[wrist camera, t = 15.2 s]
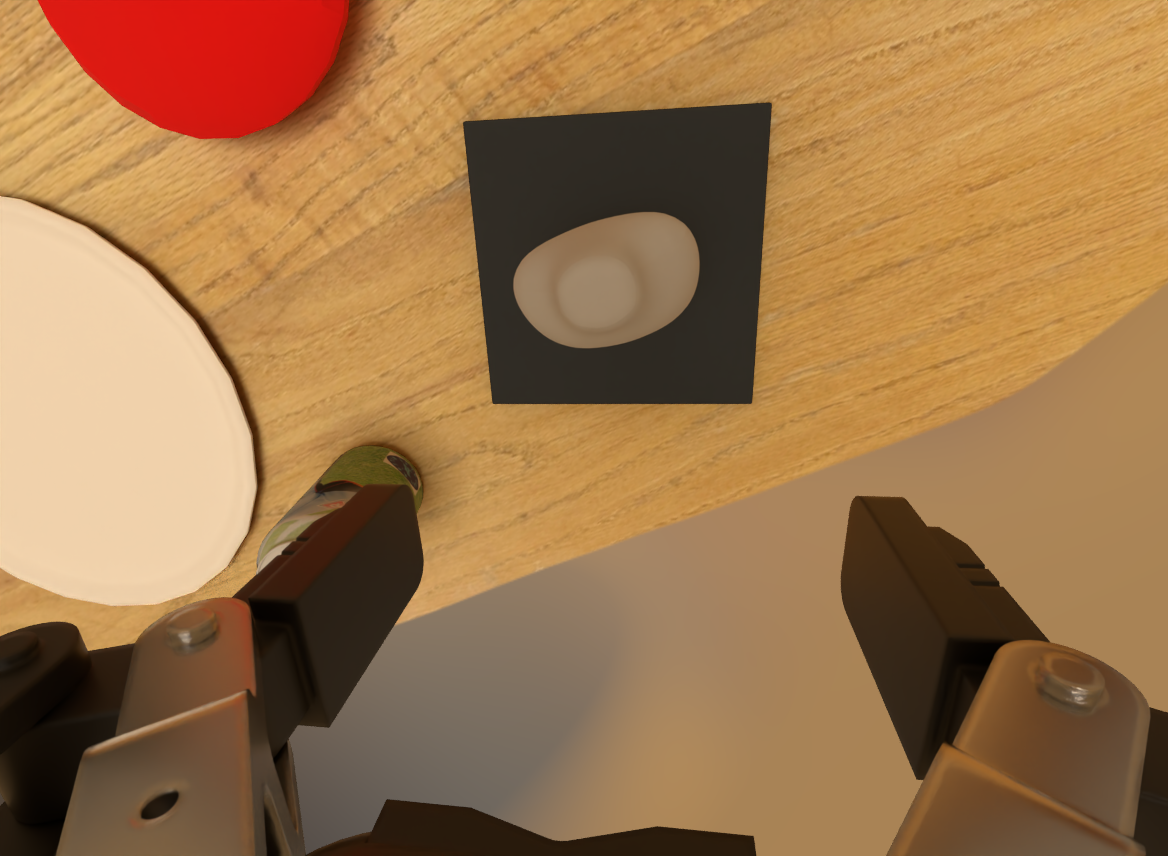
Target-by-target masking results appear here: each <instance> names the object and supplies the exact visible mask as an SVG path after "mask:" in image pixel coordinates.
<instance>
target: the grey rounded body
mask: <svg viewBox="0 0 1168 856" xmlns="http://www.w3.org/2000/svg"><path fill="white" fill-rule="evenodd" d="M699 266H700V261H699V252H698V247H697V244H696V241H695V238H694V236H693V235H692V233H691V231H690V230H689V229H688V227H687V226H686V225H685V224H684V223H683V222H681V221H679V220H678V219H676V218H675V217H672V216H670V215H667V214H664V213H657V212H639V213H630V214H624V215H619V216H614V217H610V218H605V219H602V220H598V221H594V222H591V223H588V224H585V225H582V226H580V227H577V228H575V229H572V230H570V231H567V232H565V233H563V234H561V235H559V236H556V237H554V238H552V239H550V240H548V241H546V242H545V243H543V244H541V245H540V246H538V247H536V248H535V249H534V250H532V251H531V252H530V253H529V254H528V255H527V256H526V257H525V258H524V259H523V260H522V261H521V263H520V264H519V266H518V268H517V270H516V273H515V276H514V286H513V288H514V294H515V298H516V301H517V303H518V305H519V307H520V309H521V311H522V312H523V314H524V315H525V317H526V318H527V319H528V321H529V322H530V323H531V324H532V325H533V326H534V327H535V328H536V329H537V330H538V331H539V332H540V333H542V334H543V335H544V336H546V337H547V338H549V339H551V340H553V341H555V342H557V343H559V344H562V345H566V346H569V347H575V348H599V347H607V346H613V345H618V344H622V343H626V342H630V341H633V340H636V339H638V338H641V337H644V336H646V335H648V334H651V333H653V332H655V331H657V330H659V329H661V328H662V327H664V326H666V325H667V324H669V323H670V322H672V321H673V320H674V319H675V318H677V317H678V316H679V315H680V314H681V313H682V312H683V311H684V309H685V308H686V307H687V306H688V304H689V303H690V301H691V299H692V297H693V295H694V293H695V290H696V287H697V283H698V278H699Z"/></svg>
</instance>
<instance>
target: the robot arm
mask: <svg viewBox="0 0 1168 856" xmlns="http://www.w3.org/2000/svg"><path fill="white" fill-rule="evenodd" d="M423 562H424V560H423V551H422V544H421V538H420V532H419V526H418V520H417V514H416V508H415V502H414V496H413V493H412V490H411V488H410V487H409V486H408V485H405V484H366V485H365V486H363V487H362V488H361V489H360V490H359V491H358V492H357V493H356V494H355V495H354V496H353V497H352V498H351V499H350V500H349V501H348V502H347V503H346V504H345V505H344V506H343V507H342V508H338V509H336V510H334V511H332V512H331V513H329V514H327V515H325V516H323V517H321V518H319V519H318V520H316V521H314V522H313V523H312V524H311V525H309V526H308V527H307V528H306V529H305V530H304V531H303V532H302V533H301V534H300V535H299V536H298V537H297V538H296V541H292V542H291V543H290V544H289V545H288V546H287V547H286V548H285V549H284V550H282V554H281V555H277V556H276V557H275V558H274V559H273V560H272V561H271V562H270V563H268V564H267V565H266V566H265V567H264V568H263V569H262V570H261V571H260V572H259V573H258V574H257V575H256V576H254V577H253V578H252V579H251V580H250V581H249V582H248V583H247V584H246V585H245V586H244V587H243V588H241V589H240V590H239V591H238V592H237V593H236V594H235V595H234V596H233V597H232V598H228V597H221V598H212V599H206V600H202V601H198V602H195V603H192V604H189V605H186V606H183V607H181V608H179V609H176V610H174V611H172V612H170V613H168V614H167V615H165V616H163V617H162V618H160V619H158V620H157V621H156V622H154V623H153V624H151V625H150V626H149V627H148V628H147V629H146V630H145V631H144V632H143V633H142V634H141V635H140V636H139V638H138V639H137V641H136V642H135V643H134V644H128V645H122V646H116V647H110V648H104V649H98V650H92V651H87V648H86V646H85V644H84V641H83V639H82V637H81V634H80V632H79V630H78V628H77V627H76V626H75V625H73V624H71V623H67V622H48V623H41V624H37V625H32V626H28V627H25V628H22V629H18V630H16V631H13V632H10V633H7V634H5V635H2V636H0V793H1V795H2V797H3V799H4V800H5V802H4V803H3V804H2V805H1V806H0V856H756V851H755V843H754V837H753V836H746V835H737V834H727V833H718V832H708V831H697V830H688V829H678V828H668V827H658V826H657V827H651V828H645V829H639V830H632V831H626V832H620V833H614V834H607V835H601V836H595V837H589V838H583V839H576V840H570V841H555V840H551V839H548V838H545V837H543V836H540V835H538V834H536V833H533V832H531V831H528V830H526V829H523V828H521V827H518V826H516V825H513V824H510V823H508V822H506V821H503V820H501V819H498V818H495V817H493V816H490V815H488V814H485V813H483V812H480V811H478V810H475V809H473V808H468V807H459V806H449V805H438V804H429V803H418V802H409V801H399V800H388V799H387V800H386V802H385V804H384V806H383V808H382V810H381V813H380V815H379V817H378V819H377V821H376V823H375V825H374V828H373V830H372V832H368V833H362V834H359V835H355V836H352V837H348V838H345V839H342V840H339V841H336V842H334V843H332V844H329V845H326V846H324V847H321V848H319V849H317V850H315V851H313V852H311V853H309V854H307V855H306V852H305V844H304V837H303V830H302V823H301V822H302V821H301V813H300V806H299V798H298V790H297V782H296V775H295V766H294V759H293V752H292V748H291V745H290V742H289V737H290V736H291V734H292V733H293V731H294V730H295V728H296V727H297V726H298V725H305V726H316V727H328V728H329V727H330V725H331V724H332V722H333V721H334V719H335V718H336V716H337V714H338V713H339V711H340V710H341V708H342V707H343V705H344V703H345V702H346V700H347V699H348V697H349V696H350V694H351V692H352V691H353V689H354V687H355V686H356V685H357V683H358V681H359V680H360V678H361V677H362V675H363V673H364V672H365V670H366V669H367V667H368V666H369V664H370V662H371V661H372V659H373V658H374V656H375V654H376V653H377V651H378V650H379V648H380V647H381V645H382V644H383V642H384V640H385V639H386V637H387V635H388V634H389V632H390V631H391V629H392V628H393V626H394V625H395V623H396V621H397V620H398V618H399V617H400V615H401V614H402V612H403V610H404V609H405V607H406V606H407V604H408V603H409V601H410V599H411V598H412V596H413V595H414V593H415V592H416V590H417V588H418V586H419V584H420V581H421V578H422V573H423ZM841 593H842V600H843V605H844V608H845V611H846V614H847V616H848V618H849V620H850V623H851V625H852V628H853V630H854V632H855V635H856V637H857V640H858V642H859V644H860V647H861V649H862V651H863V654H864V656H865V658H866V661H867V663H868V666H869V668H870V670H871V673H872V675H873V677H874V679H875V682H876V684H877V687H878V689H879V691H880V694H881V696H882V699H883V701H884V703H885V706H886V708H887V710H888V713H889V715H890V717H891V720H892V722H893V725H894V727H895V729H896V732H897V734H898V736H899V739H900V741H901V743H902V746H903V748H904V751H905V753H906V755H907V758H908V760H909V763H910V765H911V767H912V770H913V772H914V774H915V777H916V779H918V780H923V782H922V784H921V786H920V788H919V790H918V792H917V794H916V796H915V799H914V801H913V803H912V804H911V807H910V809H909V811H908V813H907V815H906V817H905V819H904V821H903V823H902V825H901V827H900V829H899V831H898V833H897V835H896V837H895V839H894V841H893V843H892V845H891V847H890V849H889V851H888V853H887V855H886V856H1168V713H1167V712H1163V711H1160V710H1157V709H1154V708H1150V707H1149V706H1148V703H1147V701H1146V699H1145V698H1144V696H1143V694H1142V693H1141V692H1140V691H1139V690H1138V689H1137V687H1136V686H1135V685H1134V684H1133V683H1132V682H1130V681H1129V680H1128V679H1127V678H1126V677H1125V676H1123V675H1122V674H1121V673H1119V672H1118V671H1117V670H1115V669H1113V668H1112V667H1110V666H1109V665H1107V664H1105V663H1104V662H1102V661H1100V660H1098V659H1096V658H1094V657H1092V656H1090V655H1087V654H1085V653H1083V652H1080V651H1078V650H1075V649H1072V648H1069V647H1066V646H1062V645H1059V644H1055V643H1051V642H1050V641H1049V640H1048V639H1047V638H1046V637H1045V635H1044V634H1043V633H1042V632H1041V631H1040V630H1039V628H1038V627H1037V626H1036V625H1035V624H1034V623H1033V621H1032V620H1031V619H1030V618H1029V617H1028V615H1027V614H1026V613H1025V612H1024V611H1023V610H1022V608H1021V607H1020V606H1019V605H1018V604H1017V602H1016V601H1015V600H1014V599H1013V598H1012V597H1011V595H1010V594H1009V593H1008V592H1007V591H1006V590H1005V588H1004V587H1000V585H999V581H998V580H997V579H996V578H995V576H994V575H993V574H992V573H991V572H990V571H989V570H988V569H985V565H984V564H983V562H982V561H981V560H980V559H979V558H978V556H976V554H975V553H974V552H973V551H972V549H971V548H970V547H969V546H968V545H967V544H966V543H964V542H962V541H961V540H959V539H958V538H956V537H954V536H953V535H951V534H950V533H948V532H946V531H945V530H943V529H941V528H940V527H927V526H926V524H925V523H924V522H923V521H922V520H921V518H920V517H919V515H918V514H917V513H916V512H915V510H914V509H913V508H912V506H911V505H910V504H909V502H908V501H907V500H906V499H905V498H903V497H875V496H856V497H855V498H854V499H853V501H852V503H851V507H850V512H849V519H848V527H847V534H846V542H845V549H844V556H843V564H842V571H841Z"/></svg>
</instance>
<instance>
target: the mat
mask: <svg viewBox="0 0 1168 856" xmlns="http://www.w3.org/2000/svg"><path fill="white" fill-rule="evenodd" d="M771 108H772V104H771V103H755V104H738V105H722V106H706V107H690V108H674V109H658V110H642V111H626V112H610V113H593V114H577V115H561V116H545V117H529V118H513V119H497V120H481V121H465V122H463V126H464V136H465V145H466V155H467V164H468V174H469V183H470V193H471V202H472V212H473V221H474V231H475V240H476V250H477V259H478V269H479V278H480V288H481V297H482V307H483V316H484V326H485V335H486V345H487V354H488V364H489V373H490V383H491V392H492V402H493V404H751V403H752V397H753V381H754V366H755V351H756V336H757V321H758V306H759V290H760V275H761V260H762V245H763V230H764V214H765V199H766V184H767V169H768V154H769V139H770V123H771ZM639 212H657V213H664V214H667V215H670V216H672V217H675V218H676V219H678V220H679V221H681V222H683V223H684V224H685V225H686V226H687V227H688V229H689V230H690V231H691V233H692V235H693V236H694V238H695V241H696V244H697V247H698V252H699V261H700V266H699V278H698V283H697V287H696V290H695V293H694V295H693V297H692V299H691V301H690V303H689V304H688V306H687V307H686V308H685V309H684V311H683V312H682V313H681V314H680V315H679V316H678V317H677V318H675V319H674V320H673V321H672V322H670V323H669V324H667V325H666V326H664V327H662V328H661V329H659V330H657V331H655V332H653V333H651V334H648V335H646V336H644V337H641V338H638V339H636V340H633V341H630V342H626V343H622V344H618V345H613V346H607V347H599V348H575V347H569V346H566V345H562V344H559V343H557V342H555V341H553V340H551V339H549V338H547V337H546V336H544V335H543V334H542V333H540V332H539V331H538V330H537V329H536V328H535V327H534V326H533V325H532V324H531V323H530V322H529V321H528V319H527V318H526V317H525V315H524V314H523V312H522V311H521V309H520V307H519V305H518V303H517V301H516V298H515V294H514V288H513V286H514V276H515V273H516V270H517V268H518V266H519V264H520V263H521V261H522V260H523V259H524V258H525V257H526V256H527V255H528V254H529V253H530V252H531V251H532V250H534V249H535V248H536V247H538V246H540V245H541V244H543V243H545V242H546V241H548V240H550V239H552V238H554V237H556V236H559V235H561V234H563V233H565V232H567V231H570V230H572V229H575V228H577V227H580V226H582V225H585V224H588V223H591V222H594V221H598V220H602V219H605V218H610V217H614V216H619V215H624V214H630V213H639Z"/></svg>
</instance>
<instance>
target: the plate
mask: <svg viewBox="0 0 1168 856" xmlns="http://www.w3.org/2000/svg"><path fill="white" fill-rule="evenodd" d="M257 488H258V485H257V475H256V465H255V455H254V445H253V435H252V432H251V429H250V427H249V424H248V421H247V418H246V416H245V413H244V410H243V407H242V405H241V402H240V399H239V396H238V393H237V391H236V388H235V385H234V382H233V380H232V377H231V376H230V374H229V373H228V371H227V369H226V368H225V366H224V365H223V363H222V361H221V360H220V358H219V357H218V355H217V354H216V352H215V350H214V349H213V347H212V346H211V344H210V342H209V341H208V339H207V338H206V336H205V334H204V333H203V331H202V330H201V328H200V326H199V325H198V323H197V322H196V320H195V319H194V318H193V317H192V316H191V315H190V314H189V313H188V312H187V311H186V310H185V309H184V308H183V307H182V306H181V305H180V303H179V302H178V301H177V300H176V299H175V298H174V297H173V296H172V295H171V294H170V293H169V292H168V291H167V290H166V289H165V288H164V287H163V285H162V284H161V283H160V282H159V281H158V280H157V279H156V278H155V277H154V276H153V275H152V274H151V273H150V272H149V271H148V270H147V269H146V268H145V267H144V266H142V265H141V264H139V263H138V262H137V261H135V260H134V259H132V258H131V257H130V256H128V255H127V254H125V253H124V252H122V251H121V250H120V249H118V248H117V247H115V246H114V245H113V244H111V243H110V242H108V241H107V240H106V239H104V238H103V237H101V236H100V235H98V234H97V233H96V232H94V231H93V230H91V229H90V228H89V227H87V226H85V225H83V224H80V223H78V222H75V221H73V220H71V219H68V218H66V217H64V216H61V215H59V214H57V213H54V212H52V211H50V210H47V209H45V208H43V207H40V206H38V205H35V204H33V203H31V202H28V201H26V200H24V199H17V198H10V197H3V196H0V568H1V569H3V570H4V571H6V572H8V573H9V574H11V575H13V576H14V577H16V578H18V579H21V580H23V581H26V582H28V583H31V584H33V585H36V586H38V587H41V588H43V589H46V590H49V591H51V592H54V593H56V594H59V595H61V596H64V597H68V598H73V599H78V600H84V601H89V602H94V603H99V604H104V605H110V606H128V605H154V604H159V603H162V602H165V601H168V600H171V599H174V598H177V597H180V596H183V595H186V594H189V593H192V592H195V591H197V590H198V589H199V588H200V587H202V586H203V585H204V584H206V583H207V582H208V581H209V580H211V579H212V578H213V577H215V576H216V575H217V574H219V573H220V572H221V571H222V570H224V569H225V568H226V567H227V566H228V565H229V563H230V561H231V560H232V558H233V556H234V555H235V553H236V552H237V550H238V548H239V547H240V545H241V543H242V542H243V540H244V538H245V537H246V535H247V533H248V532H249V528H250V523H251V518H252V513H253V508H254V503H255V498H256V493H257Z"/></svg>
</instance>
